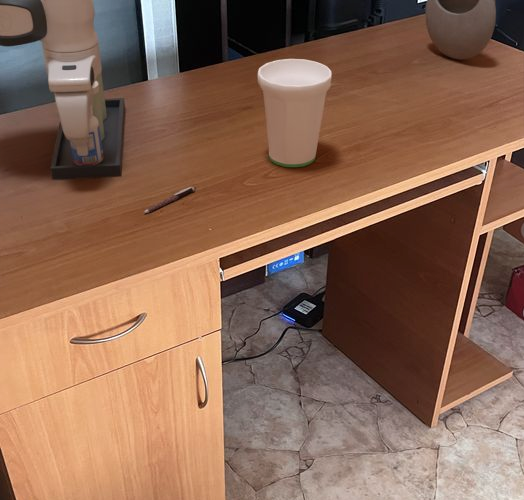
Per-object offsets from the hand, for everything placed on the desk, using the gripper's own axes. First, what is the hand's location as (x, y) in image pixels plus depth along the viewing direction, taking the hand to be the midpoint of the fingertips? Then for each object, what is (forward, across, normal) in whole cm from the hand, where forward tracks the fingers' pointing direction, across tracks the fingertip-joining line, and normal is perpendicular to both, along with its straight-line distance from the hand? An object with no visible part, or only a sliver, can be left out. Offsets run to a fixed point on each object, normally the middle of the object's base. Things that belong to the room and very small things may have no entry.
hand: (85, 141), depth 135 cm
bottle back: (+4, -18, 0) cm, 18 cm away
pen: (+4, +15, +14) cm, 21 cm away
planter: (+4, -44, +79) cm, 91 cm away
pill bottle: (+4, 0, 0) cm, 4 cm away
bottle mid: (+4, -9, 0) cm, 10 cm away
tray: (+4, -9, 0) cm, 10 cm away
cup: (+4, +1, +36) cm, 36 cm away
